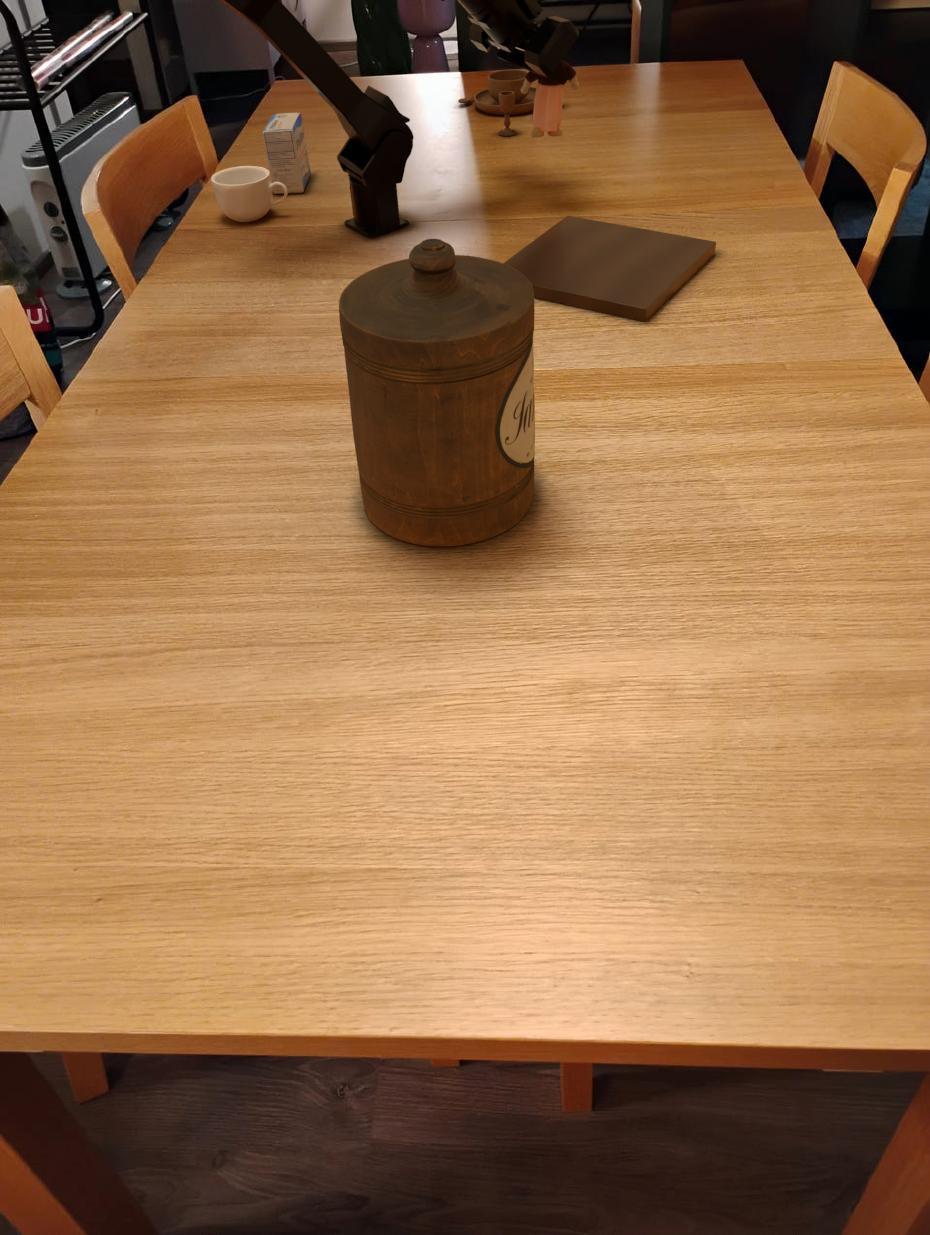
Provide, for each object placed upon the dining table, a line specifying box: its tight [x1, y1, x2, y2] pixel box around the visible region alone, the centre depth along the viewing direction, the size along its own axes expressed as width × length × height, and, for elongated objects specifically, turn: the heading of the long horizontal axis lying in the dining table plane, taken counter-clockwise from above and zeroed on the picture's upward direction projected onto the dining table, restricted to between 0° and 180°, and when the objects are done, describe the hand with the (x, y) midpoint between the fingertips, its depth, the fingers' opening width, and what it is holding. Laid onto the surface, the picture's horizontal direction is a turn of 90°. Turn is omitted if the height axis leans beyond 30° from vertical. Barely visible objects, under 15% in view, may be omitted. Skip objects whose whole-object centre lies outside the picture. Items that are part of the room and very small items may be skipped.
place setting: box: [457, 69, 565, 137], centre depth 163 cm, size 18×20×6 cm
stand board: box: [502, 215, 717, 323], centre depth 117 cm, size 20×20×2 cm
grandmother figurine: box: [521, 60, 580, 139], centre depth 131 cm, size 8×4×13 cm, turn 106°
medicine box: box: [262, 112, 312, 195], centre depth 142 cm, size 8×4×9 cm, turn 179°
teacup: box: [210, 165, 289, 223], centre depth 135 cm, size 10×8×5 cm
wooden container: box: [338, 238, 536, 547], centre depth 78 cm, size 15×15×22 cm
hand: (559, 79), depth 132 cm, fingers closed on grandmother figurine, 3 cm apart
